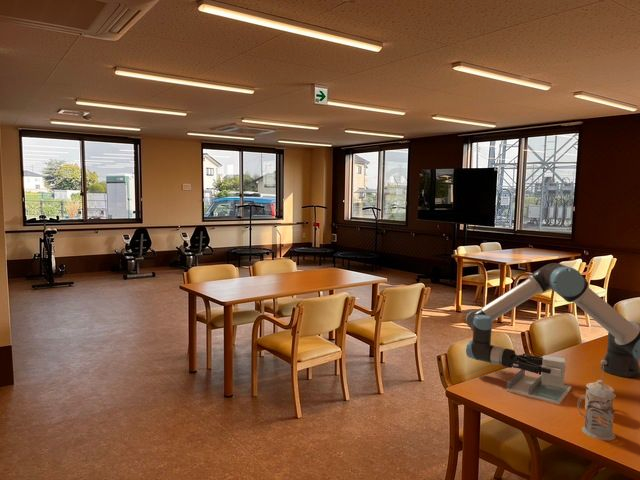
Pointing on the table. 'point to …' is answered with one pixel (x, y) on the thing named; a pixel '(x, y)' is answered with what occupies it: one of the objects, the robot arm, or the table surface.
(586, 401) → the teacup with lid
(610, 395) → the french press
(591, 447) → the table surface
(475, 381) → the table surface
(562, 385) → the small box
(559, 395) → the tray
